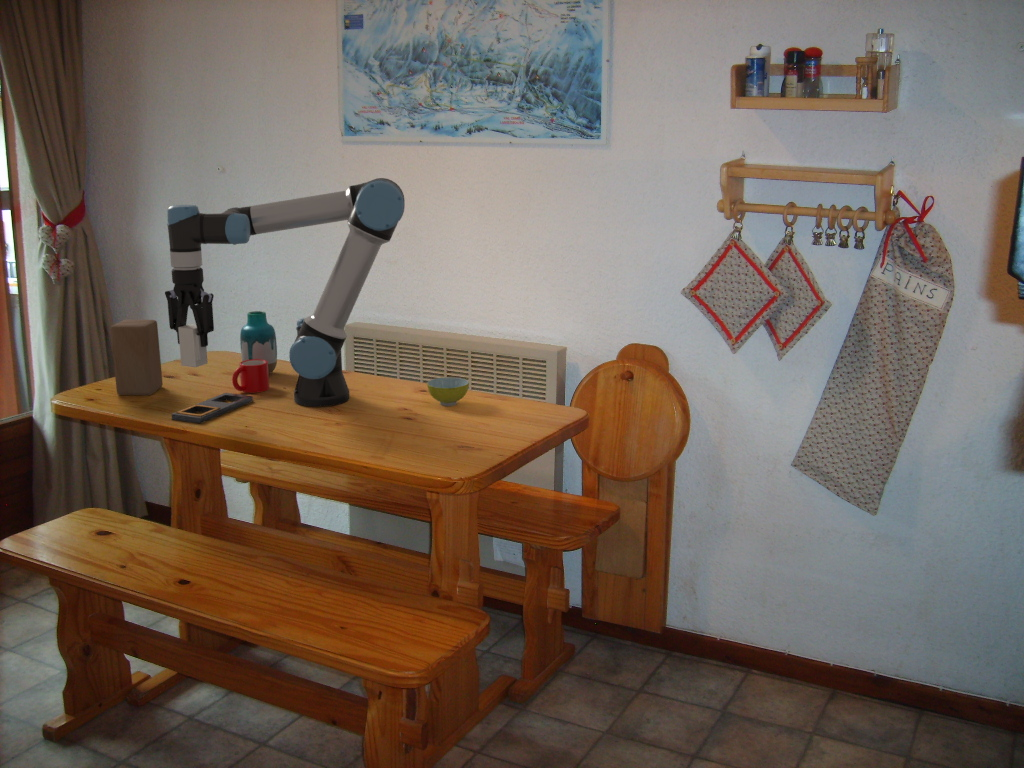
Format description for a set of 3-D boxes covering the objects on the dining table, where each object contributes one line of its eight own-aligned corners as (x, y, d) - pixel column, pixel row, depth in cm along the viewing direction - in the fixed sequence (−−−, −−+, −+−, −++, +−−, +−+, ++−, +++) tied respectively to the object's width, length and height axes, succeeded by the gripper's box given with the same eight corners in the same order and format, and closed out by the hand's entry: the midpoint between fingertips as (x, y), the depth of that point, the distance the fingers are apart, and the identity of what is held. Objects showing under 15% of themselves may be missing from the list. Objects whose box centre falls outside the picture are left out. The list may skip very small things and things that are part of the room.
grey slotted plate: (252, 401, 268) (252, 395, 267) (200, 423, 248) (199, 417, 248) (225, 397, 271) (225, 391, 271) (171, 419, 251) (171, 413, 251)
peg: (207, 363, 252) (204, 325, 249) (195, 367, 248) (192, 329, 245) (193, 361, 254) (190, 324, 251) (181, 365, 249) (178, 327, 247)
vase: (285, 373, 297) (282, 311, 292) (259, 380, 289) (255, 317, 284) (260, 368, 303) (257, 307, 298) (234, 375, 294) (230, 313, 289)
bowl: (420, 401, 269) (420, 380, 267) (457, 396, 274) (457, 375, 273) (438, 412, 259) (437, 389, 258) (476, 406, 265) (476, 384, 263)
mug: (224, 393, 275) (222, 366, 273) (255, 383, 285) (253, 357, 283) (245, 397, 272) (243, 370, 270) (275, 387, 282) (273, 361, 280)
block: (151, 396, 272) (144, 326, 267) (115, 395, 272) (108, 325, 267) (164, 386, 282) (158, 319, 276) (130, 386, 282) (123, 318, 276)
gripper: (225, 267, 244) (231, 358, 250) (169, 263, 251) (176, 351, 257) (205, 272, 238) (212, 364, 244) (148, 267, 244) (156, 357, 250)
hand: (194, 357), depth 250 cm, fingers closed on peg, 5 cm apart
